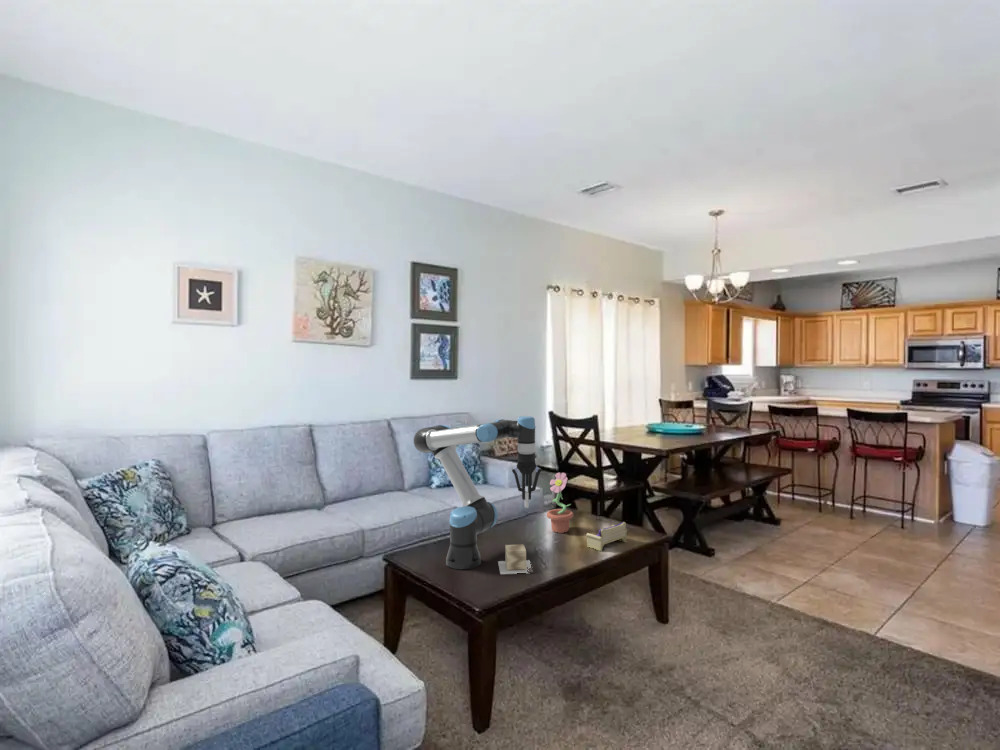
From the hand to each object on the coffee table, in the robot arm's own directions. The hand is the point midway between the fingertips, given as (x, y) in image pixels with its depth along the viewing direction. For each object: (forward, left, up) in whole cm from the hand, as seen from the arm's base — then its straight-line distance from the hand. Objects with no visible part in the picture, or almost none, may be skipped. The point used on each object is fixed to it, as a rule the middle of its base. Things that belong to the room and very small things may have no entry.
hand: (526, 506), depth 241 cm
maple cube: (-5, -3, -17) cm, 18 cm away
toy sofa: (+41, +22, -26) cm, 53 cm away
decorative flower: (+23, +45, -25) cm, 56 cm away
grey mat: (-5, -3, -25) cm, 26 cm away
